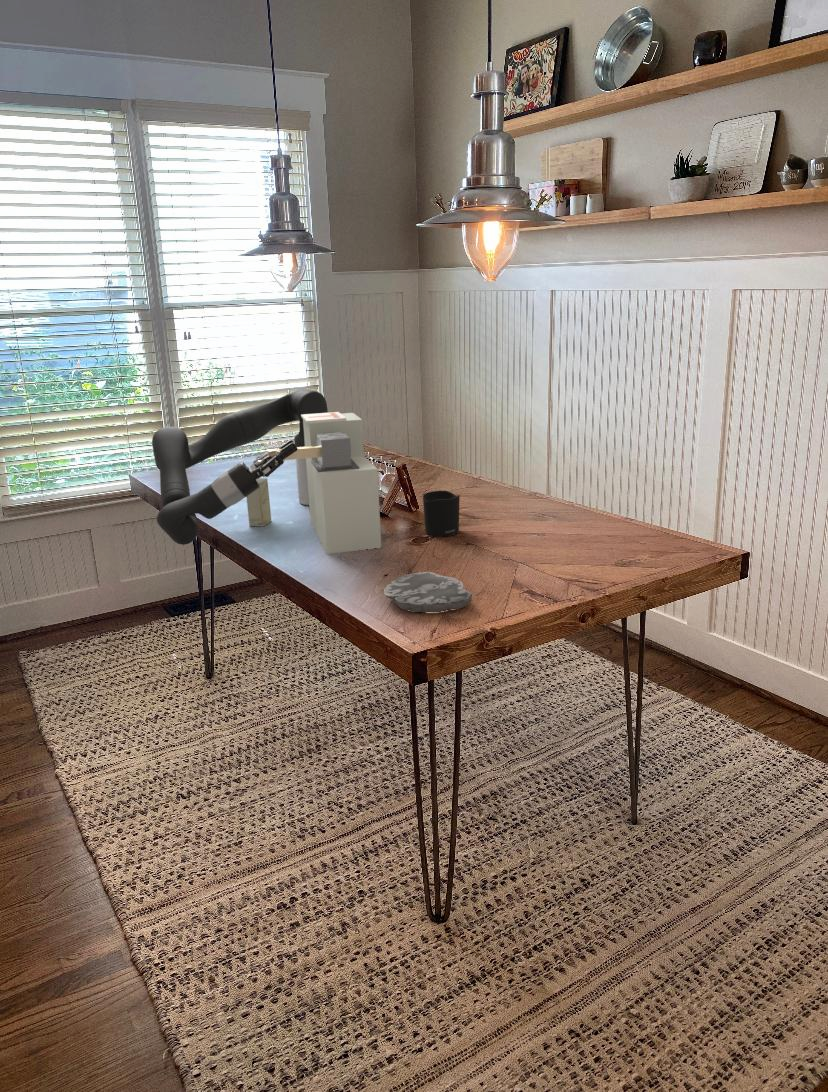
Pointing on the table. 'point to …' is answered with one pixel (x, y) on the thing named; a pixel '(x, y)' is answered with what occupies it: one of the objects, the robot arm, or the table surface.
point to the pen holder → (441, 513)
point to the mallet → (325, 451)
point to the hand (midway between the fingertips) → (294, 444)
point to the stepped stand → (342, 489)
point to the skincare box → (259, 504)
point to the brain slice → (427, 592)
